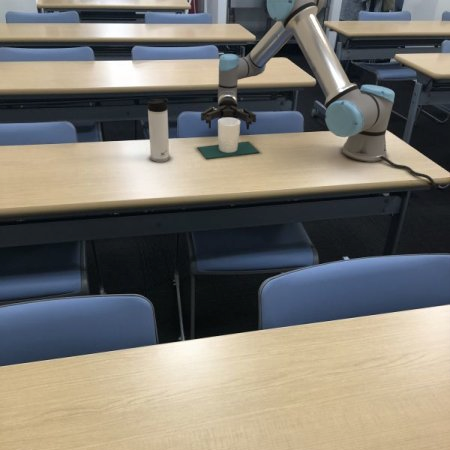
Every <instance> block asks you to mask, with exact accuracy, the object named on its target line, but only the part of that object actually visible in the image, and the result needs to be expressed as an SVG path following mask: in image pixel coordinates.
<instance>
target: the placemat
mask: <svg viewBox="0 0 450 450" xmlns="http://www.w3.org/2000/svg"><path fill="white" fill-rule="evenodd" d="M197 150H198V151H199V152H200V154H201V155H202V156H203V157H204V158H205V160H211V159H212V160H213V159H222V158H229V157H230V158H231V157H239V156H247V155H255V154H259V153H260V151H259V150H258V149H257V148H256V147H255V146H254V145H253V144H252V143H251V142H250V141H238V149H237V151H235V152H232V153H226V152H222V151H220V150H219V144H214V145H205V146H197Z"/></svg>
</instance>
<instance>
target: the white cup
mask: <svg viewBox="0 0 450 450" xmlns="http://www.w3.org/2000/svg"><path fill="white" fill-rule="evenodd" d="M240 132H241V119H239V118H237V119H236V118H233V117H232V118H224V117H222V118H218V120H217V140H218V141H217V142H218V145H219V150H220V151H222V152H226V153H232V152H235V151H237V149H238V143H239V142H240V140H239V139H240Z"/></svg>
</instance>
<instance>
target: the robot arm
mask: <svg viewBox="0 0 450 450" xmlns="http://www.w3.org/2000/svg"><path fill="white" fill-rule="evenodd" d="M325 1H326V0H266V9H267V12H268V15H269V16H270V18H271V19H272V20H273V21H276V22H275V23H274V25H272V27H271V28H270V29H269V30H268V31H267V32H266V33H265V34H264V36H263V37H262V38H261V39H260V40H259V42H257V44H255V46H254V47H253V48H252V50H250V52H249V53H248V54H247V55H245V56H243V57H239V56H238V55H237V54H233V53H224V54H221V55H220V56H219V61H218V84H217V85H218V87H217V108H215V107H214V106H213V105H210V106H209V107H208V108H207V109H205V110H204V111H202V112H201V113H200V121H201V122H202V121H203V122H204V121H205V124H208V129H212V121H213V120H216V119H221V118H236V119H238V120H240V121H244V122H245V127H246V130H250V126H251V125H252V123H256V122H257V114H256V113H254V112H252V111H250V110H249V109H248V108H247V107H245V106H243V107H242V108H239V107H238V98H237V96H238V81H240V80H242V79H247V78H252V77H257V76H259V75H262V74H263V73H264V72H265V69H266V66H267V63H269V61H271V59H272V58H273V57H274V56H275V55H276V54H278V52H279V51H280V50H281V49H282V47H284V45H285V44H287V43H288V42H289V40H290V39H291V38H293V37H294V39H295V41H296V43H297V44H298V47H299V48H300V50H301V52H302V54H303V56H304V58H305V60H306V62H307V64H308V65H309V68H310V69H311V71H312V73H313V76H314V77H315V79H316V82H317V83H318V85H319V87H320V89H321V91H322V92H323V95H324V97H325V102H324V107H325V109H326V111H325V117H324V121H325V124H326V127H327V129H328V130H329V131H330V133H332V134H333V135H334V136H336V137H340V138H346V141H345V142H344V144H343V147H342V153H343V155H345V156H346V157H348V158H350V159H352V160H355V161H359V162H365V163H368V162H369V163H372V162H373V163H375V162H380V161H382V160H383V161H384V162H386V163H387V164H388V165H390V166H392V167H393V168H398V169H404V170H407V171H408V172H409V173H410V174H412V175H414V176H417V177H421V178H425V179H427V180H428V181H429V182H430V184H431V186H433V187H436V182H435V180H434V179H433V178H432V177H431V176H430V175H428V174H425V173H422V172H417V171H414V170H413V169H412V168H411V167H410V166H408V165H404V164H397V163H395V162H393V161H392V160H390V159H388V158H387V157H386V156H387V142H386V141H387V140H386V134H387V129H388V125H389V122H390V118H391V114H392V109H393V107H394V106H393V105H394V103H395V97H396V96H395V95H396V94H395V93H396V92H394V91H393V90H392V89H390V88H388V87H385V86H380V85H376V84H362V85H361V86H360V88H359V86H358V85H357V83H352V82H350V80H349V78H348V76H347V73H346V72H345V70H344V68H343V66H342V64H341V62H340V60H339V58H338V56H337V54H336V53H335V51H334V48H333V47H332V44H331V43H330V40H329V39H328V37H327V35H326V33H325V31H324V29H323V27H322V26H321V23H320V22H319V19H318V17H317V15H318V14H319V13H320V11H321V10H322V9H323V7H324V4H325Z"/></svg>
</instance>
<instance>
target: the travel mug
mask: <svg viewBox="0 0 450 450" xmlns="http://www.w3.org/2000/svg"><path fill="white" fill-rule="evenodd" d="M168 102H169V99H168V98H166V97H153V98H150V99H149V100H148V101H147V115H148V116H147V117H148V131H149V134H148V135H149V148H150V159H151V160H152V161H154V162H157V163H164V162H167V161H169V160H170V141H169V118H168V117H169V116H168V115H169V114H168Z"/></svg>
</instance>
